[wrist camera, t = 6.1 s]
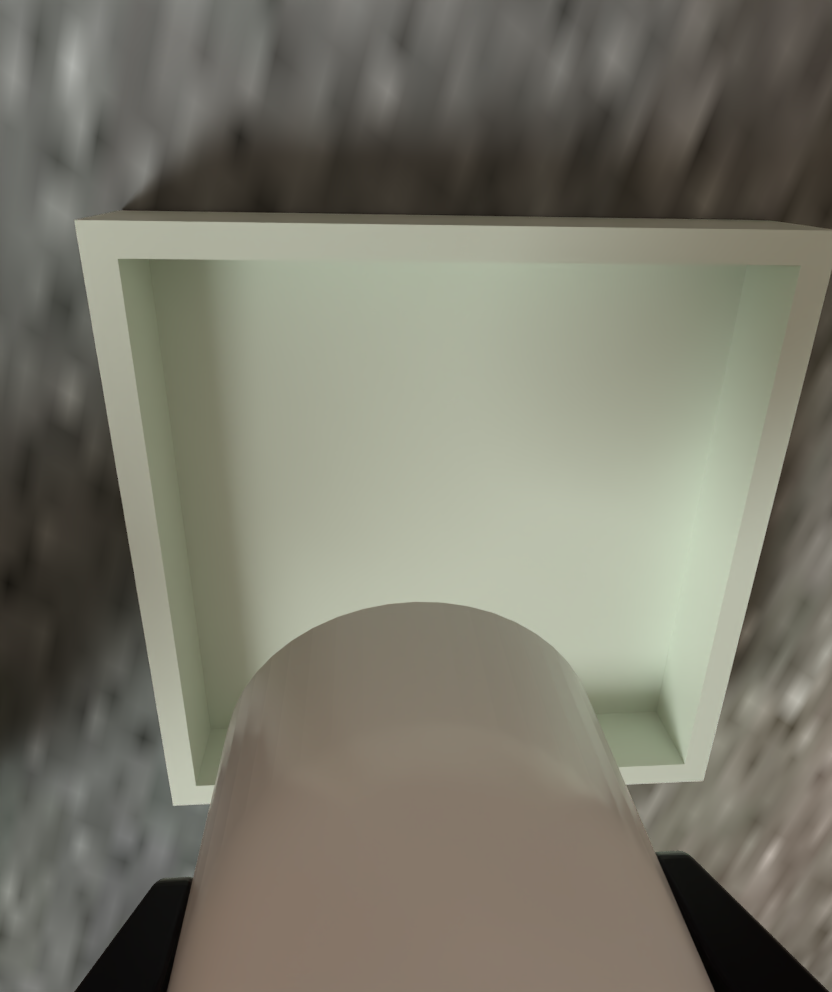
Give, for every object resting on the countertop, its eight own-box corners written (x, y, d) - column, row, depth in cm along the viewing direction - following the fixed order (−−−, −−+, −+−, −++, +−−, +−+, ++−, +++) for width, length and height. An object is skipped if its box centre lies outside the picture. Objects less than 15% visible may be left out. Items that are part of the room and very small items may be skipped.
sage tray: (769, 219, 15) (841, 230, 13) (665, 712, 21) (703, 781, 18) (119, 210, 14) (74, 220, 12) (194, 731, 20) (173, 806, 17)
